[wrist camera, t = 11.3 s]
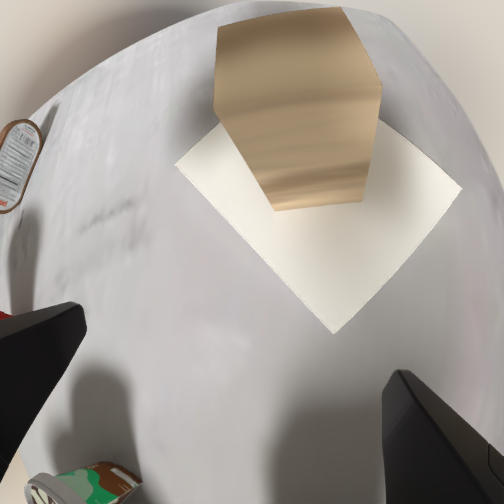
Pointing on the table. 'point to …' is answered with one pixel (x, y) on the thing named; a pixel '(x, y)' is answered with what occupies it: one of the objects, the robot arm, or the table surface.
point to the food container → (83, 486)
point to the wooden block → (299, 105)
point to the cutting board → (329, 220)
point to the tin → (17, 160)
